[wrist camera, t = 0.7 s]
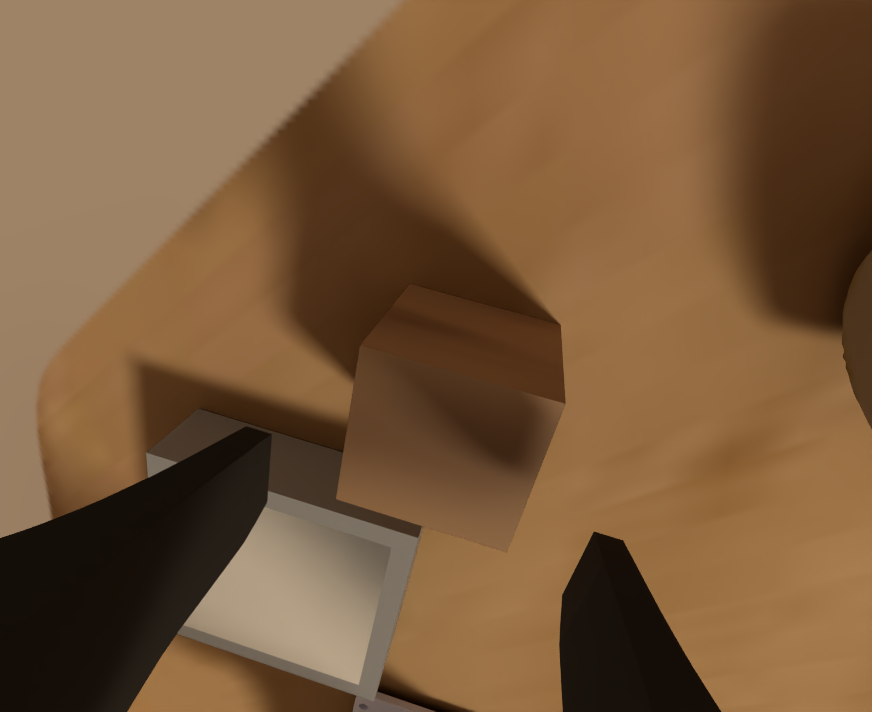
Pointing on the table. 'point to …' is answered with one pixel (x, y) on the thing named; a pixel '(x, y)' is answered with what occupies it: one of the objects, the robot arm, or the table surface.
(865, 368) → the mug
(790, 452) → the table surface
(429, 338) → the walnut cube
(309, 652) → the grey plinth
